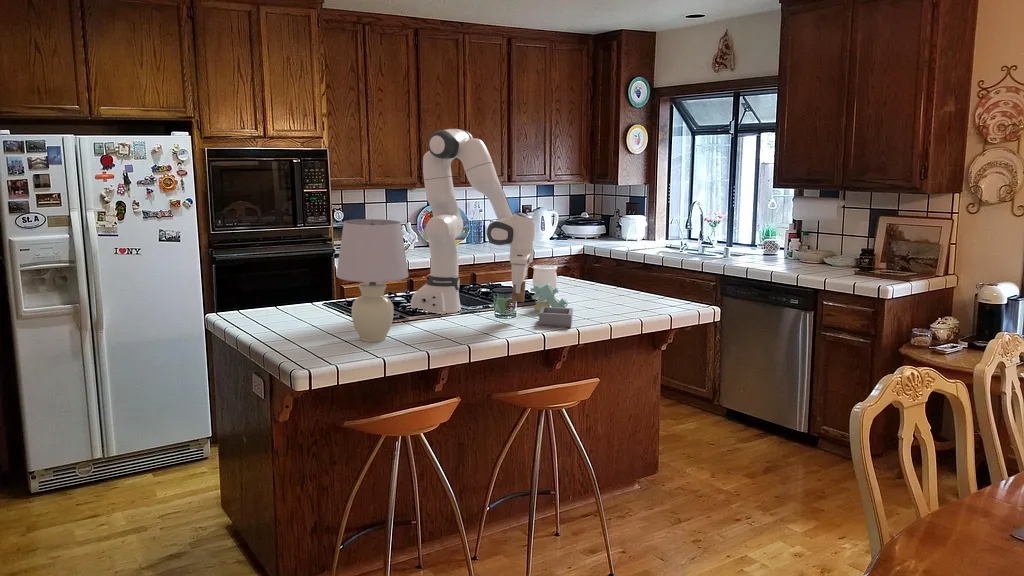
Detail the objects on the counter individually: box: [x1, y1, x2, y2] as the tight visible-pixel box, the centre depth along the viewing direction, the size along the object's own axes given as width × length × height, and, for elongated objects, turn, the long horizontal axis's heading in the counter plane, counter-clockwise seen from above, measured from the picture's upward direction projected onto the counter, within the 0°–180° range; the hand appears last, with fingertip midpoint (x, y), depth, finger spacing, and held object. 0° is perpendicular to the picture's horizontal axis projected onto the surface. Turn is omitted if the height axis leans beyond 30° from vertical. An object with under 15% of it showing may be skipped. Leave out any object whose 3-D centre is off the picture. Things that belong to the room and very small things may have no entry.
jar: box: [532, 264, 558, 302], centre depth 338 cm, size 11×10×15 cm
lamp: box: [335, 218, 410, 343], centre depth 263 cm, size 24×24×40 cm
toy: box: [530, 282, 570, 312], centre depth 319 cm, size 10×13×15 cm
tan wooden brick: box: [511, 280, 527, 303], centre depth 299 cm, size 4×2×8 cm, turn 83°
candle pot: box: [538, 306, 574, 328], centre depth 296 cm, size 12×12×5 cm
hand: (518, 291), depth 299 cm, fingers closed on tan wooden brick, 2 cm apart
